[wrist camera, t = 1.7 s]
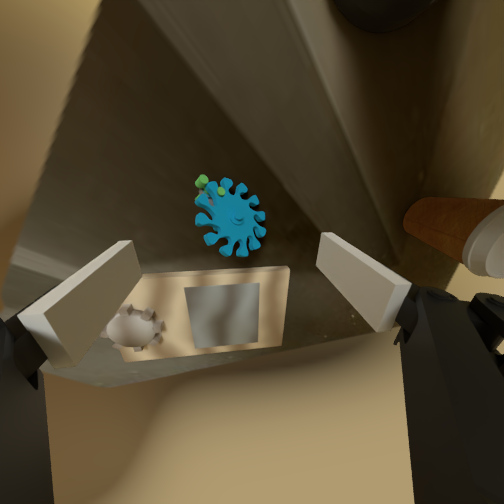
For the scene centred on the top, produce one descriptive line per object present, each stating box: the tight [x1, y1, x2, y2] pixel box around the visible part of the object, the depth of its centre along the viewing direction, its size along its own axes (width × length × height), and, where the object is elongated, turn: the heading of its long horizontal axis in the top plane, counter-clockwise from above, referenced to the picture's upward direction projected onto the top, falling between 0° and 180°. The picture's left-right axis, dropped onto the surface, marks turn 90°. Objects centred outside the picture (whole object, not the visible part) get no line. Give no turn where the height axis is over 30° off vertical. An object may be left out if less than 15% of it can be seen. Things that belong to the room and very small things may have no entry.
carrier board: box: [100, 266, 290, 362], centre depth 32 cm, size 31×18×3 cm, turn 89°
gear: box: [195, 175, 266, 257], centre depth 24 cm, size 11×6×10 cm
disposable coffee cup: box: [403, 197, 504, 278], centre depth 25 cm, size 10×10×12 cm
